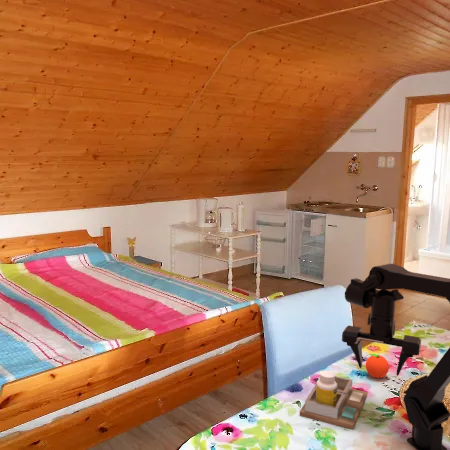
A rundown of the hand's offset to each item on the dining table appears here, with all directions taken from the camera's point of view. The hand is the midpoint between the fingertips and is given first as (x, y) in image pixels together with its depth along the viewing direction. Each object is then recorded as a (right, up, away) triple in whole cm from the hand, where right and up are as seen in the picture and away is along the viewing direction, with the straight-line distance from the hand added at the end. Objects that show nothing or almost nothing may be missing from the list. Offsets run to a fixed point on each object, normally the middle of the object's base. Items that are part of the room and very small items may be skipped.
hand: (378, 371), depth 123 cm
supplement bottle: (-13, -11, +4) cm, 18 cm away
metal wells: (-11, -11, +8) cm, 17 cm away
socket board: (-10, -12, +8) cm, 17 cm away
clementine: (+7, -10, +25) cm, 28 cm away
